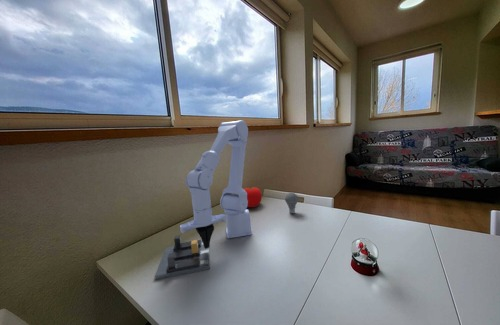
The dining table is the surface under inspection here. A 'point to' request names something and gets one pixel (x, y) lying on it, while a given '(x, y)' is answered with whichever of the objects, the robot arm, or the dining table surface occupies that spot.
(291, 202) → the light bulb
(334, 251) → the dining table surface
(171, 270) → the breaker panel
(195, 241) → the breaker
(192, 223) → the robot arm
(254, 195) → the tomato
